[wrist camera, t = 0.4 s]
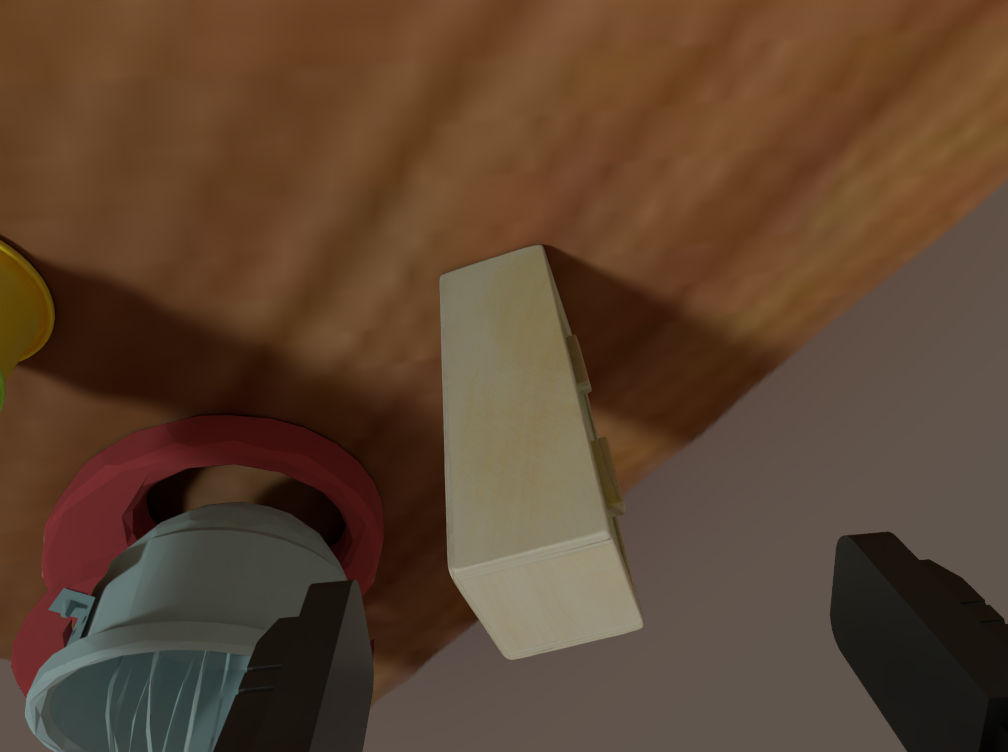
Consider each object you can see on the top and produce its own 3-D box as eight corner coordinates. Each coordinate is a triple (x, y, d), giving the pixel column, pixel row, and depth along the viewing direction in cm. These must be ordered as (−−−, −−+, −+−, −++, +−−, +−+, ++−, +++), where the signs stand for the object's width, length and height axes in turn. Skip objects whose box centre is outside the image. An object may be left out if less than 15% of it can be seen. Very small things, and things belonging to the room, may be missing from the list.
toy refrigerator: (586, 337, 48) (662, 629, 32) (480, 367, 49) (502, 665, 33) (555, 236, 43) (627, 524, 27) (438, 272, 44) (440, 570, 28)
